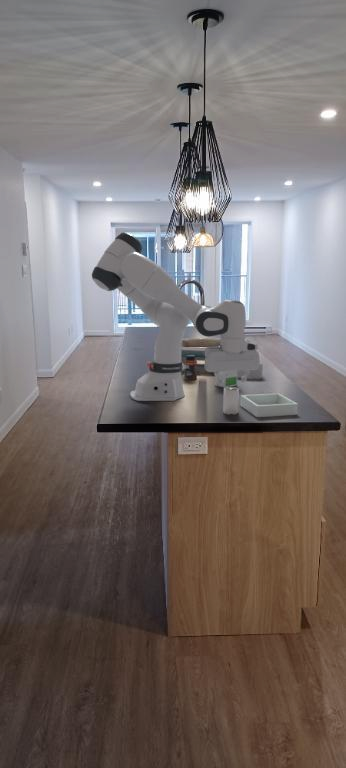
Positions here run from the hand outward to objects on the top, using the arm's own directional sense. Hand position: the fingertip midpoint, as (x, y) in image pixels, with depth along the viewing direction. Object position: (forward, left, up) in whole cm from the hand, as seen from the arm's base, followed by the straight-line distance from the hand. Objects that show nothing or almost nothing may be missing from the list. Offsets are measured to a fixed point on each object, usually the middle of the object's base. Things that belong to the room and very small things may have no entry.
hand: (231, 382), depth 194 cm
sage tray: (+15, 0, -11) cm, 19 cm away
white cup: (0, 0, -12) cm, 12 cm away
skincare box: (+13, +41, -12) cm, 45 cm away
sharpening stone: (+13, +74, -12) cm, 76 cm away
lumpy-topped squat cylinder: (+30, +57, -12) cm, 66 cm away
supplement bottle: (+1, +57, -12) cm, 58 cm away
